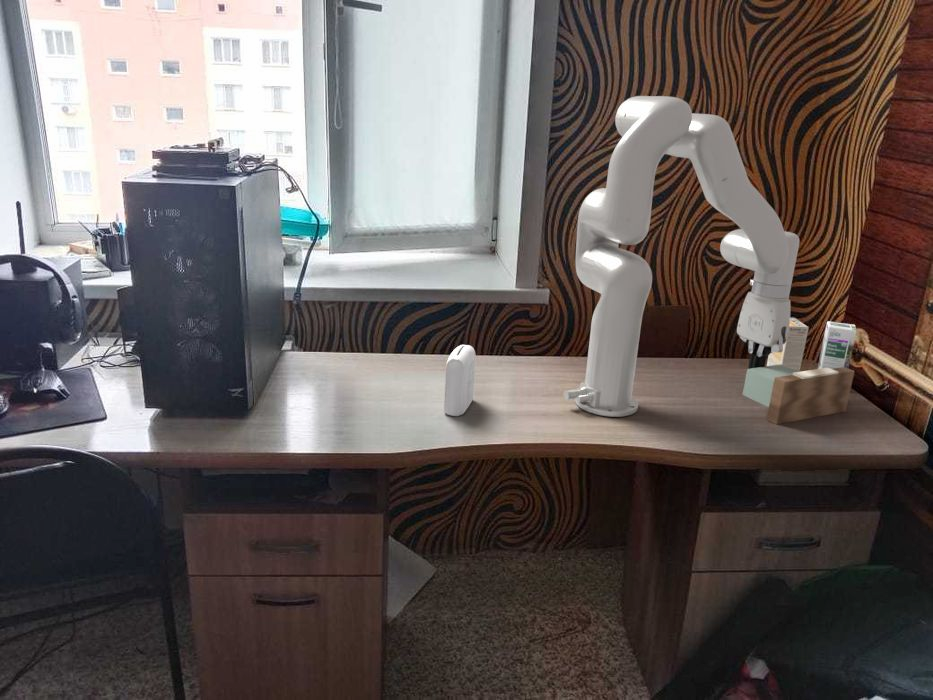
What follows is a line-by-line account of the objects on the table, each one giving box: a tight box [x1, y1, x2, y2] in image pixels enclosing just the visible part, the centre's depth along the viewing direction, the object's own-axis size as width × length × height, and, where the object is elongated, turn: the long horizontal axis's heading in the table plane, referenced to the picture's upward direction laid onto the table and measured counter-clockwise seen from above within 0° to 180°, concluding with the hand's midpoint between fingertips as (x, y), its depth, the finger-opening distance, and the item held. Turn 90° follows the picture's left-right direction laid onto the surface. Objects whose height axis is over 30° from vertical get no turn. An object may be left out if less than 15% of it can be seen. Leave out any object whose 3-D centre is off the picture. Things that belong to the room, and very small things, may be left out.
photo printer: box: [443, 344, 477, 417], centre depth 145 cm, size 10×4×12 cm, turn 166°
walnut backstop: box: [766, 367, 855, 425], centre depth 151 cm, size 20×3×9 cm, turn 116°
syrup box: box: [816, 320, 857, 369], centre depth 168 cm, size 6×6×14 cm
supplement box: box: [766, 317, 810, 372], centre depth 173 cm, size 8×5×13 cm, turn 179°
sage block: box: [742, 364, 798, 408], centre depth 158 cm, size 10×12×6 cm
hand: (755, 371), depth 163 cm, fingers closed
